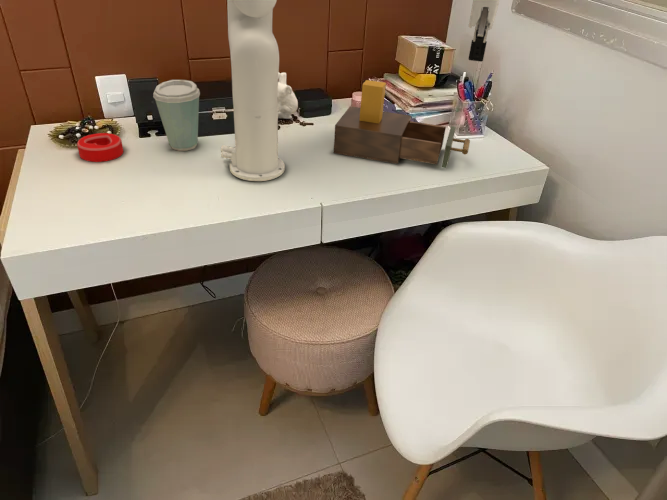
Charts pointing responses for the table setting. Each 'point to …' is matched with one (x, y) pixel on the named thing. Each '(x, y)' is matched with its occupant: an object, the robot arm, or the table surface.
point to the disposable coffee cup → (179, 112)
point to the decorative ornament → (100, 147)
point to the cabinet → (370, 136)
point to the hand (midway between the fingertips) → (475, 59)
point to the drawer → (428, 143)
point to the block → (372, 101)
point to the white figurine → (285, 98)
